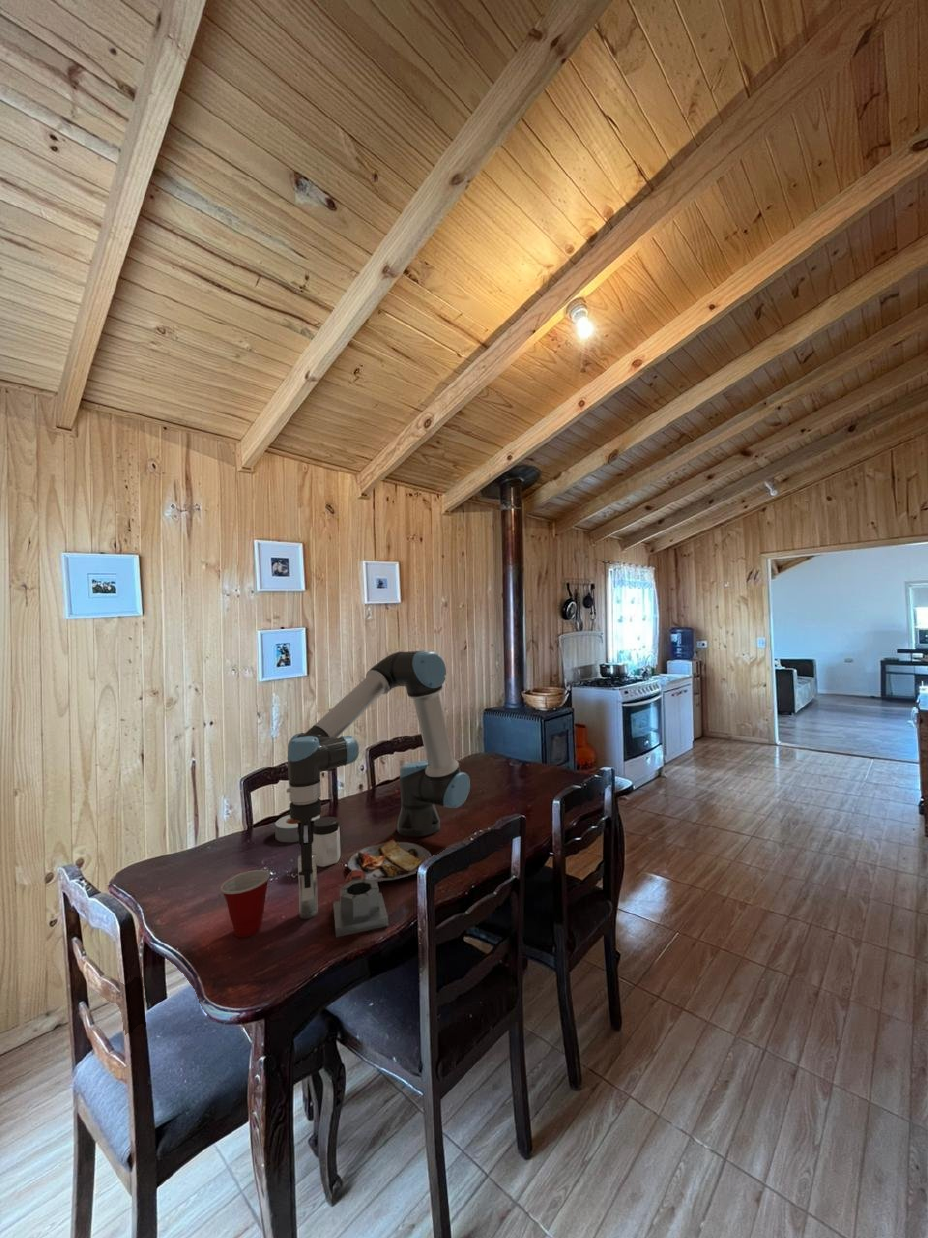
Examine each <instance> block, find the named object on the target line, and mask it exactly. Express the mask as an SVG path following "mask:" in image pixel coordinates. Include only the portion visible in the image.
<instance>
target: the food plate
mask: <svg viewBox="0 0 928 1238" xmlns="http://www.w3.org/2000/svg"><path fill="white" fill-rule="evenodd" d="M430 856H431V857H432V854H431V852H430V851H429V850H428V849H426V848H425V847H423V846H421V845H419V844H416V843H412V842H408V841H407V842H406V841H395V839H394V838H391V839H389V841H386V842H382V843H377V844H373V845H369V846H367V847H364V848H361V849H360V850H358V851H357V852H355V853H354V854H352V855H351V856H350V857H349V859H348V861H347V864H346V866H347V868H348V869H349V870H350V872H351V871H353V870H361V871H363V872H364V874H365V877H366V879H369V880H373V881H377V883H378V882H379V883H380V882H383V881H395V880H398V879H403V878H406V877H408V876H411V875H412V876H413V875H415V874H417V873H416V871H417V867H418V866H419V865H420V864H421V863H422V862H423V861H424V860H426V859H427V858H429V857H430ZM401 871H402V872H405V873H404V874H401V873H402V872H401ZM382 876H384V877H382ZM385 876H387V877H386V878H385Z"/></svg>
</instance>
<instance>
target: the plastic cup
mask: <svg viewBox="0 0 928 1238" xmlns="http://www.w3.org/2000/svg"><path fill="white" fill-rule="evenodd" d="M270 875H271V874H270V871H267V870H265V869H256V870H255V869H254V870H249V871H245V872H242V873H238V874H237V875H235V876H232V877H230V878H229V879H227V880H226V881H224V882H223V884H221V886H220V892H222V893H223V895H224V898H225V901H226V903H227V908H228V914H229V917H230V922H231V925H232V929H233V933H234V935H235V936H236V937H237V938H248V937H250V936H253V935H255V934H256V933H258V932H259V931H260V929H261V927H262V922H263V917H264V910H265V901H266V895H267V894H266V893H267V890H268V889H267V887H268V883H269V878H270V877H271V876H270Z"/></svg>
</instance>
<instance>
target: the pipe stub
mask: <svg viewBox="0 0 928 1238" xmlns="http://www.w3.org/2000/svg"><path fill="white" fill-rule="evenodd" d="M317 868H318V866H317V865H316V854H315V853H312V869H313V886H314V899H311V900H306V901H302V876H301V875H299V872H301V871H302V867H301V854H300V855H298V856H297V873H298V874H297V875H298V903H299V904H298V907H299V909H298V910H299V913H298V914H299V917H300V918H301V919H310V918H312V917H315V916H316V915H318V912H319V905H318V903H319V901H318V900H319V899H318V896H319V895H318V875H317V873H318V872H317V871H318V869H317Z"/></svg>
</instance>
